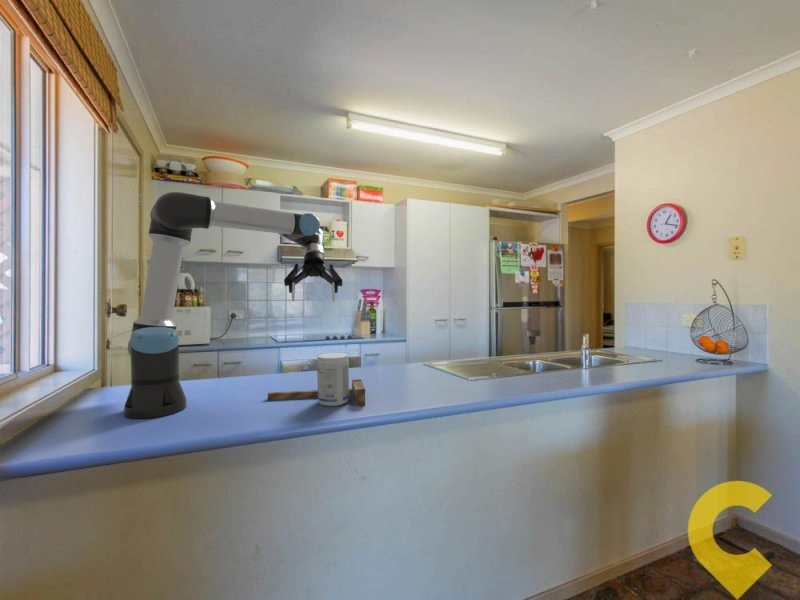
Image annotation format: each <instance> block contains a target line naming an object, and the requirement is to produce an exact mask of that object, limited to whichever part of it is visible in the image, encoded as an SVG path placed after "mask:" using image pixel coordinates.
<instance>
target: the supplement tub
mask: <svg viewBox="0 0 800 600" xmlns="http://www.w3.org/2000/svg"><path fill="white" fill-rule="evenodd" d="M316 363H317V367H316V369H317V371H316V372H317V390H318V398H317V402H318V404H320V405H322V406H324V407H338V406H342V405H344V404H347V403H348V402H349V401H350V396H349V389H350V373H349V371H350V369H349V368H350V367H349V366H350V364H349V363H350V362H349V355H348V354H347V353H346V352H345V353H344V352H327V353H322V354H318V355H317V360H316Z"/></svg>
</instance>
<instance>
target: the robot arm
mask: <svg viewBox="0 0 800 600" xmlns="http://www.w3.org/2000/svg"><path fill="white" fill-rule="evenodd" d="M149 218H150V223H149V230H148V237H149V238H150V240H152V247H151V252H150V259H149V264H148V269H147V275H146V282H145V288H144V294H143V300H142V305H141V311H140V316H139V317H138V318H137V319H135V320H134V321H133V323H132V329H131V334H130V339H129V340H128V345H127V352H128V354H129V356H130V381H131V382H130V384H131V385H130V389H129V393H128V395H127V398H126V401H125V404H124V406H123V415H124V417H126V418H128V419H137V420H138V419H141V420H142V419H153V418H158V417H165V416H168V415H172V414H173V415H174V414H175V413H178V412H181V411H183V410H184V409H185V408H186V407H187V397H186V395H185V392H184V390H183V386H182V384H181V382H180V352H179V349H180V345H179V343H180V337H179V333H178V331H177V326H178V325H177V324H176V323H175V322H174V321H173V316H174V310H175V305H176V304H175V303H176V298H177V293H178V285H179V281H180V280H179V279H180V274H181V268H182V263H183V262H182V260H183V257H184V256H183V255H184V248H185V247H187V246H188V245H191V239H192V234H193V229H207V230H208V229H210V228H212V227H217V228H218V227H219V228H228V229H235V230H236V229H237V230H245V231H246V230H247V231H255V232H264V233H273V234H274V233H275V234H278V235H280V236H281V237H283V238H285V239H287V240H289V241H291V242H294V243H295V244H297V245H299V246H301V247H303V248H304V249H303V251H304V252H303V253H304V254H303V265H299V264H298V263H295V264H294V266H293V269H292V270H291V271H290V272H289V273H288V274H287V276H286V277H285V278H284V279H283V282H284V283H283V284H284V286H285V287H288V292H289V294H291V301H292V302H295V298H296V297H295V296H296V295H295V294H296V286H297V284H298V283H300V282H301V281H302V280H304V279H306V278H308V277H311V278H313V277H315V278H316V277H317V278H318V277H320V278H322V279H323V280H325V281H326V282H327V283H329V284H330V285H331V294H332V295H331V297H332V298H331V300H332V302H335V300H336V296H335V295H336V294H337V293H338V291H339V288H338V287H343V279H342V277H341V276H340V274H338V272H337V271H336V270H335V268H334V265H333V264H331V263H330V264H329V265H325V236H324V235H325V234H324V232H323V230H322V229H321V228H320V227H321V223H320V219H319V218H318V217H317V216H316V215H315V214H314V213H303V214H302V213H296V212H288V211H282V210H275V209H267V208H260V207H254V206H248V205H247V206H246V205H241V204H234V203H227V202H220V201H214V200H213V199H212V198H211V196H203V195H199V194H198V195H197V194H193V193H192V194H191V193H188V192H182V191H180V192H179V191H171V192H166V193H164V194H162V195H161V196H160V197H158V199H156V201H155V204H153V206H152V208H151V210H150V217H149Z"/></svg>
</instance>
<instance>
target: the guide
mask: <svg viewBox="0 0 800 600" xmlns="http://www.w3.org/2000/svg"><path fill="white" fill-rule="evenodd" d="M349 397H352V399H353V404H354V406H355V407H362V406H366V387H365V385H364V383H363V380H362V379H361V378H358V379H357V378H356V379H351V388H349ZM299 398H300V399H315V398H316V399H318V389H316V390H315V389H313V390H297V391H293V390H291V391H274V392H267V401H278V400H279V401H280V400H281V401H282V400H296V399H297V400H298V399H299Z"/></svg>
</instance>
